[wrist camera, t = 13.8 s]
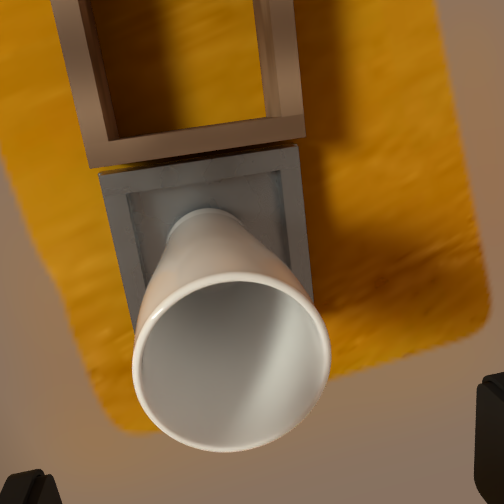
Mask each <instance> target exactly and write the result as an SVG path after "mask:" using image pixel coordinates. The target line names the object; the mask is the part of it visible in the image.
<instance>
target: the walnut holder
mask: <svg viewBox="0 0 504 504" xmlns="http://www.w3.org/2000/svg"><path fill="white" fill-rule="evenodd" d="M51 5H52V9H53V13H54V17H55V22H56V26H57V30H58V35H59V39H60V43H61V47H62V52H63V56H64V60H65V65H66V69H67V73H68V77H69V82H70V86H71V90H72V95H73V99H74V103H75V108H76V112H77V116H78V120H79V125H80V129H81V133H82V138H83V142H84V146H85V150H86V155H87V159H88V163H89V168H90V169H92V168H98V167H105V166H112V165H119V164H126V163H132V162H139V161H146V160H153V159H160V158H166V157H173V156H180V155H187V154H194V153H201V152H207V151H214V150H221V149H228V148H235V147H241V146H248V145H255V144H262V143H269V142H275V141H282V140H289V139H296V138H303V137H306V131H305V121H304V110H303V100H302V89H301V79H300V68H299V58H298V47H297V36H296V26H295V15H294V5H293V0H253V7H254V15H255V24H256V32H257V40H258V49H259V57H260V66H261V74H262V83H263V91H264V100H265V108H266V117H263V118H256V119H249V120H242V121H235V122H228V123H221V124H214V125H207V126H200V127H192V128H185V129H178V130H171V131H164V132H157V133H150V134H143V135H136V136H129V137H121V138H119V134H118V129H117V125H116V120H115V115H114V110H113V106H112V101H111V96H110V91H109V87H108V82H107V77H106V72H105V68H104V63H103V58H102V53H101V49H100V44H99V39H98V34H97V30H96V25H95V20H94V15H93V11H92V6H91V1H90V0H51Z"/></svg>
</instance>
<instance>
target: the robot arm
mask: <svg viewBox="0 0 504 504" xmlns="http://www.w3.org/2000/svg"><path fill="white" fill-rule="evenodd" d="M474 458H475V459H474V481H475V484H476V487H477V489H478V491H479V493H480V495H481V496H482V497H483V498H484V500H485V501H486V502H487V504H504V372H501V373H497V374H492V375H487V376H485V377H484V378H483V380H482V384H479V385H478V387H477V398H476V428H475V457H474ZM0 504H62V501H61V498H60V495H59V492H58V489H57V487H56V483H55V480H54V478H53V476H52V475H51V474H48V475H44V472H43V471H42V470H41V469H35V470H31V471H26V472H21V473H17V474H12V475H10V476H9V477H8V478H7V480H6V482H5V484H4V486H3V489H2V491H1V493H0Z"/></svg>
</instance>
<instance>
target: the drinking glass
mask: <svg viewBox="0 0 504 504" xmlns="http://www.w3.org/2000/svg"><path fill="white" fill-rule="evenodd" d="M330 367H331V345H330V339H329V335H328V331H327V329H326V326H325V323H324V321H323V319H322V317H321V315H320V314H319V312H318V311H317V309H316V307H315V305H314V303H313V302H312V300H311V298H310V297H309V295H308V293H307V292H306V290H305V289H304V287H303V286H302V284H301V283H300V281H299V280H298V279H297V277H296V276H295V275H294V273H293V272H292V271H291V270H290V269H289V268H288V266H287V265H286V264H285V263H284V262H283V261H282V260H281V259H280V258H279V257H278V256H277V255H276V254H275V253H274V252H273V251H271V250H270V249H269V248H268V247H267V246H266V245H264V244H263V243H262V242H261V241H260V240H258V239H257V238H256V237H255V236H254V235H253V234H252V233H250V232H249V231H248V230H247V229H246V227H245V226H244V225H243V223H242V222H241V221H240V220H239V219H238V218H236V217H235V216H234V215H232V214H231V213H229V212H226V211H224V210H220V209H216V208H202V209H198V210H194V211H192V212H189V213H188V214H186V215H184V216H183V217H182V218H180V219H179V220H178V221H177V222H176V223H175V225H174V226H173V227H172V229H171V230H170V232H169V234H168V237H167V240H166V245H165V248H164V251H163V253H162V255H161V257H160V259H159V262H158V264H157V266H156V268H155V270H154V272H153V274H152V276H151V278H150V281H149V283H148V285H147V288H146V291H145V293H144V296H143V299H142V303H141V307H140V310H139V314H138V319H137V325H136V332H135V339H134V350H133V359H132V376H133V383H134V388H135V391H136V394H137V397H138V399H139V402H140V404H141V406H142V407H143V409H144V411H145V413H146V414H147V415H148V417H149V418H150V419H151V420H152V422H153V423H154V424H155V425H156V426H157V427H158V428H159V429H161V430H162V431H163V432H164V433H166V434H167V435H168V436H170V437H171V438H173V439H175V440H177V441H178V442H181V443H183V444H185V445H187V446H190V447H193V448H197V449H200V450H205V451H212V452H238V451H245V450H250V449H254V448H257V447H260V446H263V445H266V444H268V443H270V442H273V441H275V440H277V439H279V438H280V437H282V436H284V435H285V434H287V433H288V432H290V431H291V430H293V429H294V428H295V427H296V426H298V425H299V424H300V423H301V422H302V421H303V420H304V419H305V418H306V417H307V416H308V414H309V413H310V412H311V410H312V409H313V408H314V407H315V405H316V404H317V402H318V401H319V399H320V397H321V395H322V393H323V391H324V389H325V386H326V383H327V380H328V377H329V373H330Z"/></svg>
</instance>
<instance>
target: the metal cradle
mask: <svg viewBox="0 0 504 504" xmlns="http://www.w3.org/2000/svg"><path fill="white" fill-rule="evenodd" d="M98 176H99V181H100V185H101V189H102V194H103V198H104V202H105V207H106V211H107V216H108V220H109V224H110V229H111V233H112V237H113V242H114V246H115V251H116V255H117V259H118V264H119V268H120V272H121V277H122V281H123V286H124V290H125V294H126V299H127V303H128V307H129V312H130V316H131V320H132V325H133V329H134V334H135V332H136V325H137V319H138V314H139V310H140V307H141V303H142V299H143V296H144V293H145V291H146V288H147V285H148V283H149V281H150V278H151V276H152V274H153V272H154V270H155V268H156V266H157V264H158V262H159V259H160V257H161V255H162V253H163V251H164V248H165V245H166V240H167V237H168V234H169V232H170V230H171V229H172V227H173V226H174V225H175V223H176V222H177V221H178V220H179V219H180V218H182V217H183V216H184V215H186V214H188V213H189V212H192V211H194V210H198V209H202V208H216V209H220V210H224V211H226V212H229V213H231V214H232V215H234V216H235V217H236V218H238V219H239V220H240V221H241V222H242V223H243V225H244V226H245V227H246V229H247V230H248V231H249V232H250V233H252V234H253V235H254V236H255V237H256V238H257V239H258V240H260V241H261V242H262V243H263V244H264V245H266V246H267V247H268V248H269V249H270V250H271V251H273V252H274V253H275V254H276V255H277V256H278V257H279V258H280V259H281V260H282V261H283V262H284V263H285V264H286V265H287V266H288V268H289V269H290V270H291V271H292V272H293V273H294V275H295V276H296V277H297V279H298V280H299V281H300V283H301V284H302V286H303V287H304V289H305V290H306V292H307V293H308V295H309V297H310V298H311V300H312V302H313V303H314V299H313V289H312V279H311V269H310V259H309V249H308V239H307V229H306V219H305V209H304V199H303V189H302V179H301V169H300V159H299V149H298V146H297V144H295V143H291V144H284V145H278V146H271V147H264V148H257V149H250V150H244V151H237V152H230V153H223V154H217V155H210V156H203V157H196V158H190V159H183V160H176V161H169V162H162V163H156V164H149V165H142V166H135V167H129V168H122V169H115V170H108V171H102V172H99V173H98Z"/></svg>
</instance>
